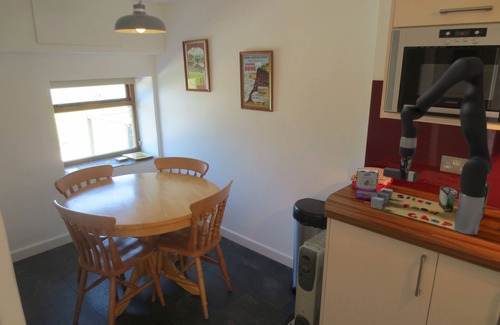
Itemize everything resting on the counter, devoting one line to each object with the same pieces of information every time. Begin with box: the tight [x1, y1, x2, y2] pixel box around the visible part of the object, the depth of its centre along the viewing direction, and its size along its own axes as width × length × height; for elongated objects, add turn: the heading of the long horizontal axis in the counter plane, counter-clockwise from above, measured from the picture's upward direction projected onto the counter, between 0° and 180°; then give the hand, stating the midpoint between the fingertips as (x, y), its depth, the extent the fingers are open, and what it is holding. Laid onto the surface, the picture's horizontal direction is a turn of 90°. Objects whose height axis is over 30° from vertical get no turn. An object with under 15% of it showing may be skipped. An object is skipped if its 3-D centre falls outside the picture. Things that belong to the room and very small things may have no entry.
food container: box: [437, 186, 459, 213], centre depth 172 cm, size 12×6×10 cm, turn 168°
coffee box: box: [481, 182, 491, 220], centre depth 164 cm, size 9×6×16 cm
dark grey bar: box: [382, 167, 419, 183], centre depth 175 cm, size 16×4×4 cm, turn 52°
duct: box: [370, 187, 394, 210], centre depth 181 cm, size 6×19×6 cm, turn 143°
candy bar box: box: [354, 167, 380, 201], centre depth 185 cm, size 11×5×16 cm, turn 67°
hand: (404, 178), depth 174 cm, fingers closed on dark grey bar, 4 cm apart
